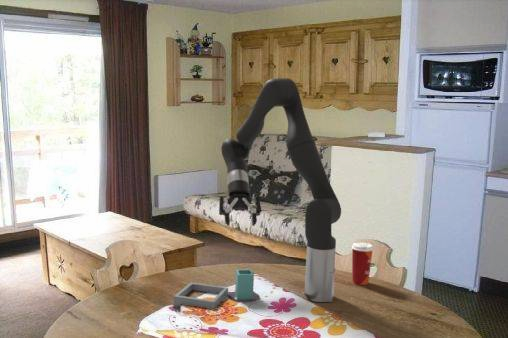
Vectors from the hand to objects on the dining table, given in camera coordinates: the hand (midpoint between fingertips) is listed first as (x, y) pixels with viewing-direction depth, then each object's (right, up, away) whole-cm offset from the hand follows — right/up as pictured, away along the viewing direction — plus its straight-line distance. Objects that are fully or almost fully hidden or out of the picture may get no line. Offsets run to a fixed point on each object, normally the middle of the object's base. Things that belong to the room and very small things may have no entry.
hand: (241, 224), depth 169 cm
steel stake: (+1, -23, -9) cm, 25 cm away
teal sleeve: (+1, -22, -9) cm, 24 cm away
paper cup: (+43, -22, +13) cm, 50 cm away
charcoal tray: (-12, -23, -11) cm, 28 cm away
